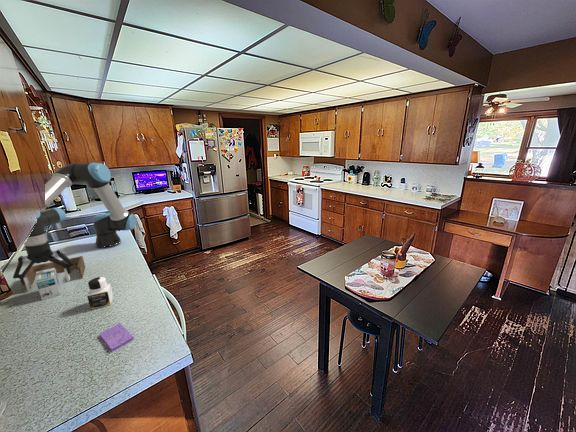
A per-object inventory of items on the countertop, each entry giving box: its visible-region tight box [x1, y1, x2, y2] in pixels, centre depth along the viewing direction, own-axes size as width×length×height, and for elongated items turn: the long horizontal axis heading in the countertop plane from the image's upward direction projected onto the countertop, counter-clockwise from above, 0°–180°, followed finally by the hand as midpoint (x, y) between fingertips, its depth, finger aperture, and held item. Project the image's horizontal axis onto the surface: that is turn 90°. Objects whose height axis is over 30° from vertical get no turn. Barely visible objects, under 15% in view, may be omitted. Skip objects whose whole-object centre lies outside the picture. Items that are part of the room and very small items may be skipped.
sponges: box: [98, 322, 135, 353], centre depth 86 cm, size 7×13×2 cm, turn 54°
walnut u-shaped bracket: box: [21, 255, 86, 293], centre depth 126 cm, size 22×17×7 cm
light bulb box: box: [34, 268, 62, 301], centre depth 112 cm, size 11×7×11 cm, turn 45°
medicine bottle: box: [86, 276, 114, 310], centre depth 104 cm, size 7×7×12 cm
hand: (49, 284), depth 113 cm, fingers open, 13 cm apart
